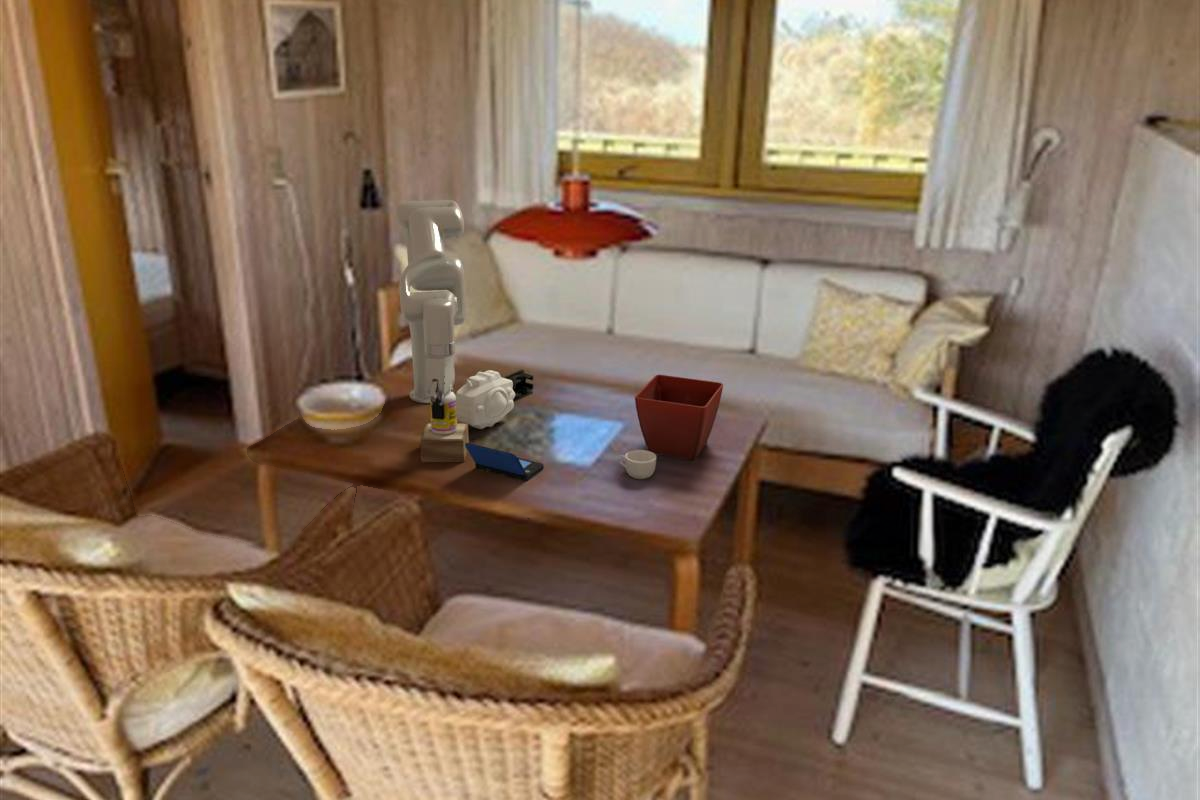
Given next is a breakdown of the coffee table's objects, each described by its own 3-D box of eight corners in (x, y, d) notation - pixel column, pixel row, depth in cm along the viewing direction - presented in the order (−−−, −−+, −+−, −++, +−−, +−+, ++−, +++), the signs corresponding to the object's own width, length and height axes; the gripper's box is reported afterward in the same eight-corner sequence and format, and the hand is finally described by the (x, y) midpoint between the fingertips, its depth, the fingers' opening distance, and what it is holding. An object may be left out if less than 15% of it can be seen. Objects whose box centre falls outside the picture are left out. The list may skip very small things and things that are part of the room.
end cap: (516, 388, 289) (516, 367, 287) (534, 392, 286) (534, 372, 283) (495, 397, 282) (495, 376, 279) (513, 402, 278) (513, 381, 275)
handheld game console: (545, 469, 235) (545, 436, 232) (516, 489, 224) (516, 455, 221) (495, 456, 242) (494, 423, 239) (464, 475, 231) (463, 441, 228)
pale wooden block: (427, 444, 248) (426, 422, 246) (468, 444, 248) (467, 422, 246) (421, 461, 238) (420, 439, 236) (464, 461, 238) (463, 439, 236)
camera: (450, 430, 257) (448, 376, 251) (495, 411, 271) (493, 360, 265) (479, 440, 251) (477, 385, 245) (523, 420, 264) (522, 368, 259)
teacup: (660, 472, 234) (661, 453, 232) (648, 484, 227) (649, 465, 225) (624, 464, 238) (624, 445, 236) (611, 476, 231) (612, 457, 229)
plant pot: (631, 456, 243) (633, 396, 237) (654, 429, 259) (656, 373, 253) (701, 468, 236) (705, 407, 230) (720, 440, 253) (724, 383, 247)
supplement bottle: (452, 436, 237) (449, 389, 233) (427, 434, 239) (425, 387, 234) (460, 426, 244) (458, 381, 239) (437, 424, 245) (434, 379, 240)
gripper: (436, 336, 241) (439, 399, 248) (414, 358, 225) (418, 424, 232) (464, 338, 240) (467, 401, 247) (443, 359, 224) (447, 426, 231)
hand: (443, 412), depth 239 cm, fingers open, 7 cm apart
